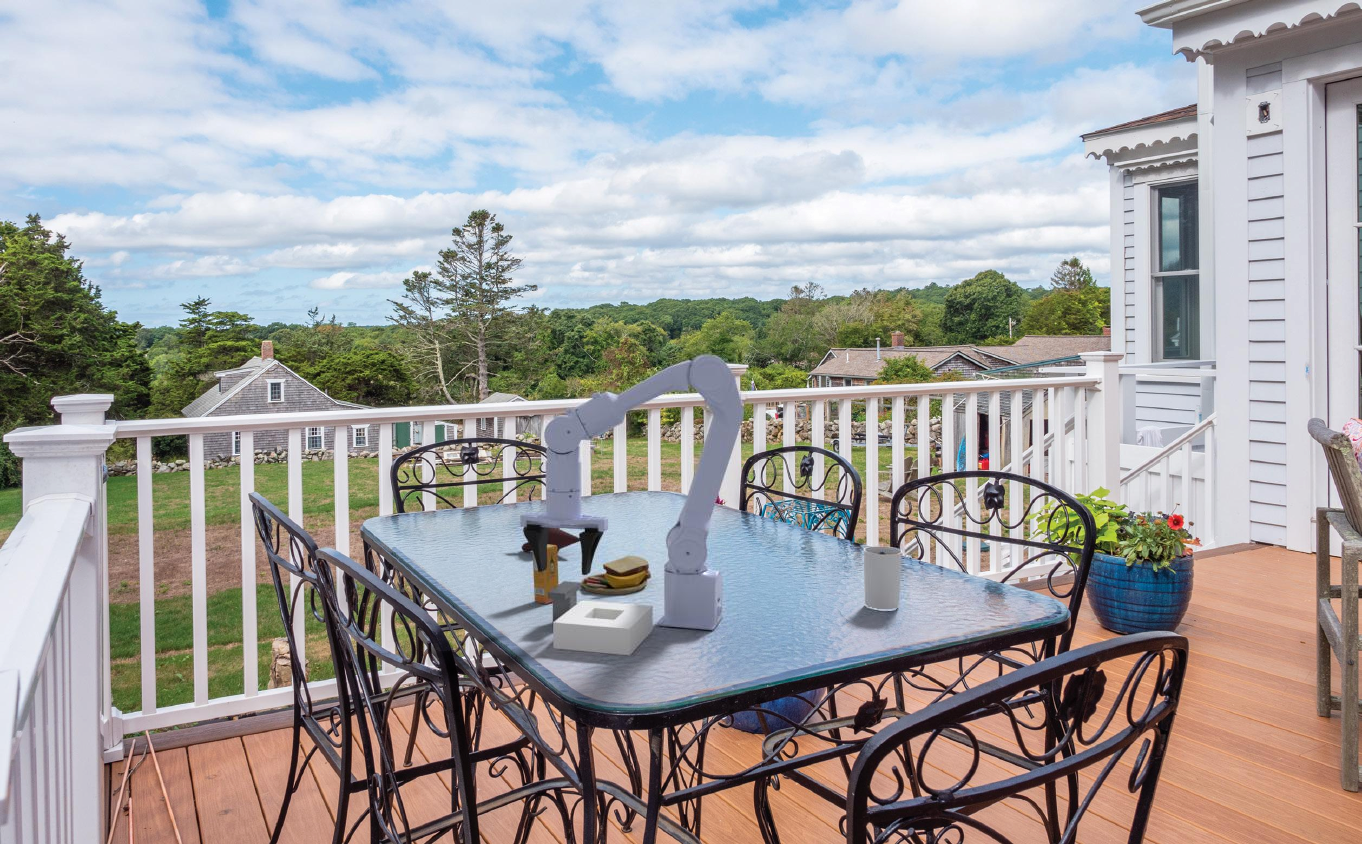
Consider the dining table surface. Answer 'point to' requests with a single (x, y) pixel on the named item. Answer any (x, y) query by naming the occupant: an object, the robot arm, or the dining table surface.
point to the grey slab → (564, 597)
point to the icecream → (555, 539)
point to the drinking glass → (882, 576)
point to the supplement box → (546, 576)
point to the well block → (603, 627)
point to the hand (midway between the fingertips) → (564, 571)
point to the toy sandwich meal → (620, 576)
